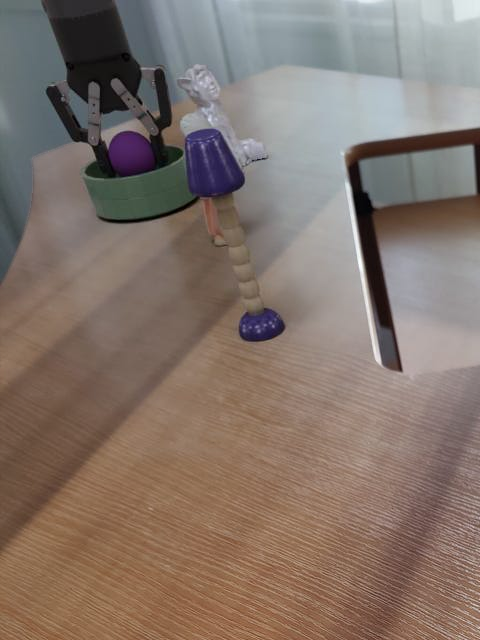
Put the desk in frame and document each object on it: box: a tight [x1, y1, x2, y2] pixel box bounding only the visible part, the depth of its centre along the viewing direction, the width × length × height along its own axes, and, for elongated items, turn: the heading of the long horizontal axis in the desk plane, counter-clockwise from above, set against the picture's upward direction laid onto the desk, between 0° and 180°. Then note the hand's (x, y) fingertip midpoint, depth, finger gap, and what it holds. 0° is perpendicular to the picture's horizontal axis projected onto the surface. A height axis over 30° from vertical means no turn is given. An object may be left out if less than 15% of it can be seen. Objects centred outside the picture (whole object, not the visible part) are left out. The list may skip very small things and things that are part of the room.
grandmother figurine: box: [179, 112, 228, 247], centre depth 95 cm, size 8×4×13 cm, turn 6°
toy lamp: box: [184, 129, 286, 342], centre depth 75 cm, size 5×5×17 cm
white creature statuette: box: [176, 63, 268, 171], centre depth 115 cm, size 10×9×12 cm
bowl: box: [79, 143, 197, 221], centre depth 109 cm, size 13×13×5 cm
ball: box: [107, 130, 157, 178], centre depth 107 cm, size 6×6×6 cm
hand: (137, 171), depth 108 cm, fingers closed on ball, 5 cm apart
